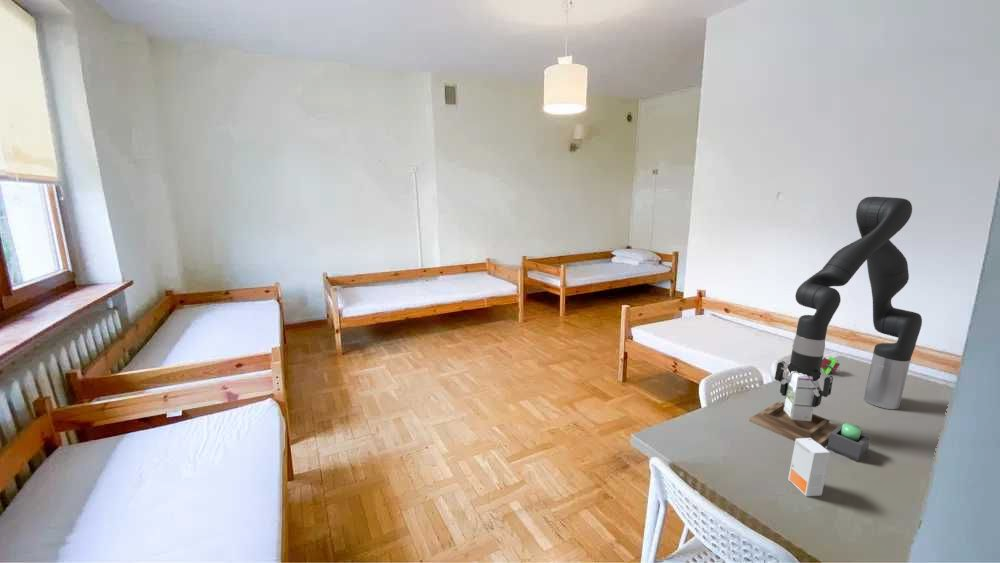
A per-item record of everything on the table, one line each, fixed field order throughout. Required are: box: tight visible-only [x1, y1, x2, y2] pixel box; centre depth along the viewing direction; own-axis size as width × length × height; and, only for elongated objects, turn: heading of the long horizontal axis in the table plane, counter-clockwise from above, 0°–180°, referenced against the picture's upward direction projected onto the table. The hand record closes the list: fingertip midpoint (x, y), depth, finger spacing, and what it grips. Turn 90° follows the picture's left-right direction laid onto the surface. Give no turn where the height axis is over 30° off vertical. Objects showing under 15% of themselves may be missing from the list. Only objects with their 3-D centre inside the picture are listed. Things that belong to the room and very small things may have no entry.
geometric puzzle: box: [820, 355, 841, 376], centre depth 167 cm, size 7×7×8 cm
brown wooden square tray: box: [749, 402, 840, 446], centre depth 131 cm, size 18×18×3 cm
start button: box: [841, 422, 862, 441], centre depth 117 cm, size 4×4×3 cm
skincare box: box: [787, 438, 831, 497], centre depth 102 cm, size 6×4×12 cm
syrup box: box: [783, 371, 819, 421], centre depth 129 cm, size 6×6×14 cm
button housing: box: [826, 425, 872, 463], centre depth 118 cm, size 7×7×5 cm
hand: (798, 400), depth 129 cm, fingers closed on syrup box, 8 cm apart
